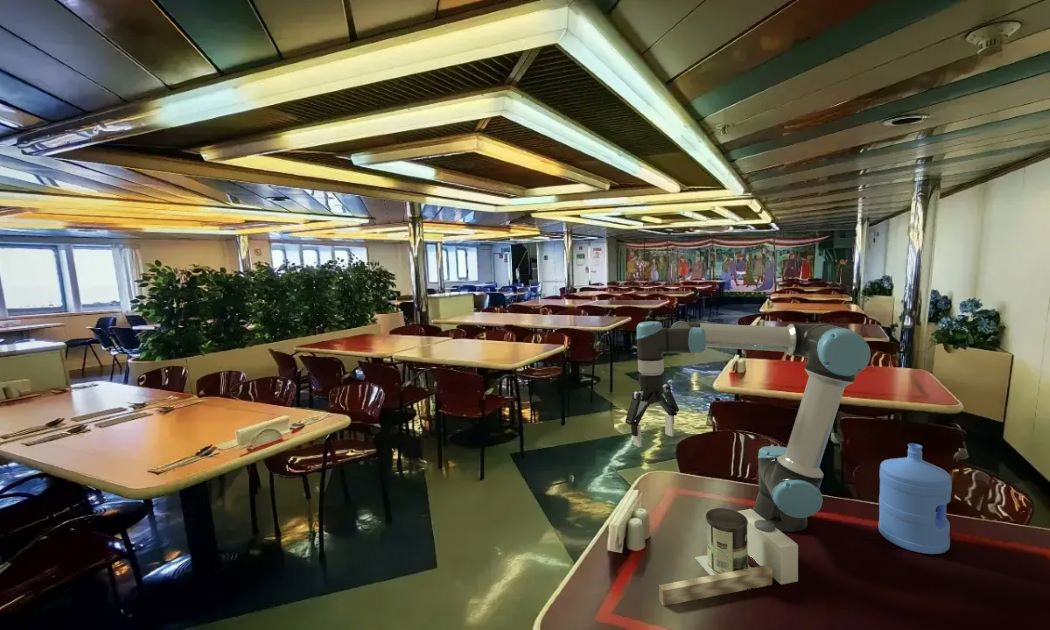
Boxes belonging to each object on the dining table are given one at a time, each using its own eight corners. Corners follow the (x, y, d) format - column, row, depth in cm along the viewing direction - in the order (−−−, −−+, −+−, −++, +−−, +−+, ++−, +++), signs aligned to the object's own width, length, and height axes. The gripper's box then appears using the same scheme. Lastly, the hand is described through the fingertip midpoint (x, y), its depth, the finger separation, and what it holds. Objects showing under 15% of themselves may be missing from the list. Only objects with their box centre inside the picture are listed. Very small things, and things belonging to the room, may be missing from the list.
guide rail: (766, 579, 117) (766, 565, 117) (772, 584, 115) (772, 569, 115) (659, 600, 112) (659, 585, 112) (663, 605, 110) (662, 590, 110)
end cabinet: (751, 541, 134) (750, 506, 133) (797, 581, 116) (797, 542, 115) (689, 551, 130) (688, 517, 129) (727, 595, 113) (726, 555, 112)
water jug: (889, 549, 126) (891, 453, 124) (871, 520, 141) (872, 433, 138) (961, 560, 120) (965, 459, 118) (934, 528, 135) (937, 437, 132)
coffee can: (742, 556, 127) (741, 508, 125) (753, 581, 117) (752, 529, 115) (703, 553, 129) (702, 506, 127) (710, 578, 119) (709, 527, 117)
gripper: (670, 364, 146) (673, 427, 148) (611, 377, 134) (614, 446, 136) (689, 367, 140) (691, 434, 142) (628, 382, 128) (632, 454, 130)
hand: (653, 440), depth 139 cm, fingers open, 13 cm apart
